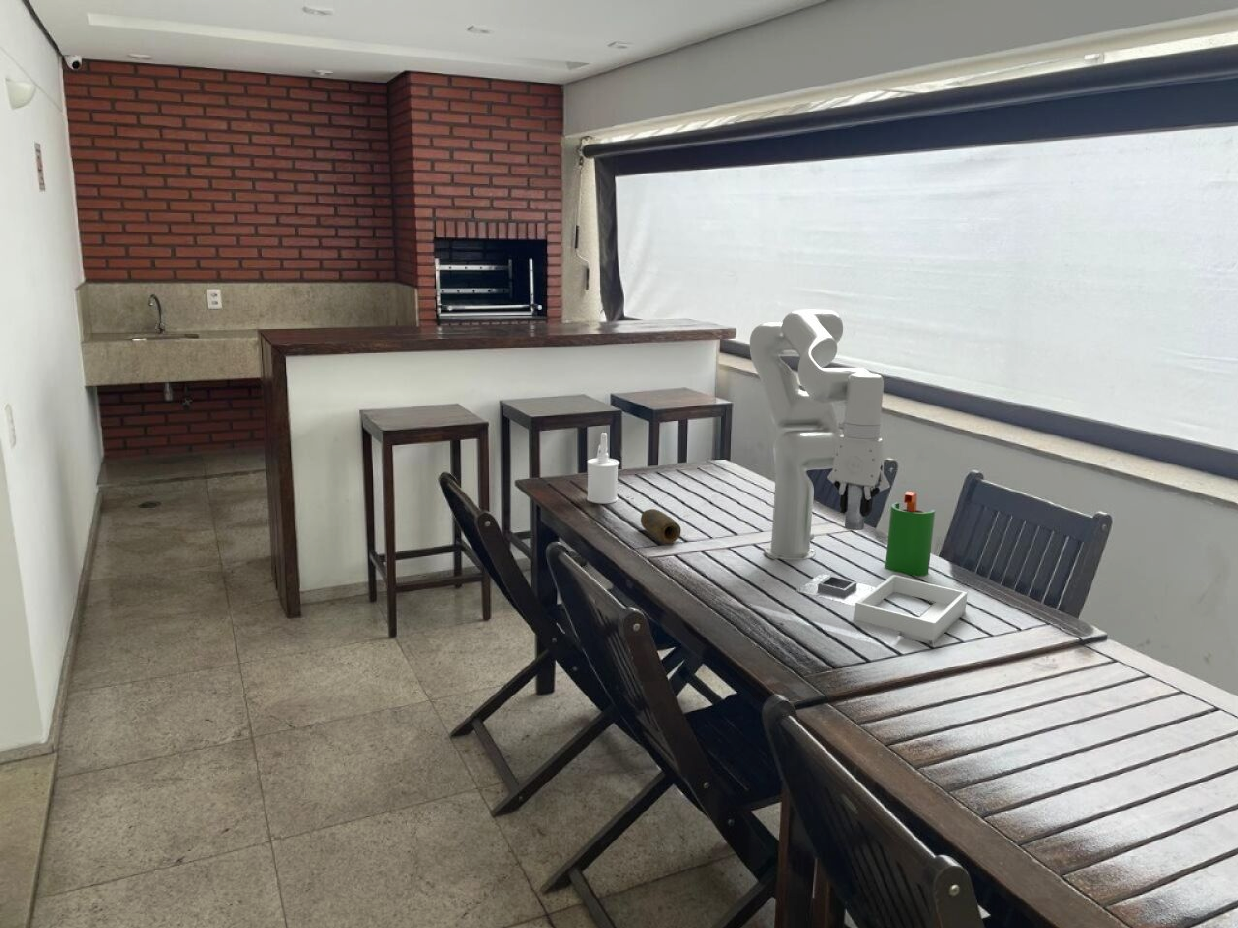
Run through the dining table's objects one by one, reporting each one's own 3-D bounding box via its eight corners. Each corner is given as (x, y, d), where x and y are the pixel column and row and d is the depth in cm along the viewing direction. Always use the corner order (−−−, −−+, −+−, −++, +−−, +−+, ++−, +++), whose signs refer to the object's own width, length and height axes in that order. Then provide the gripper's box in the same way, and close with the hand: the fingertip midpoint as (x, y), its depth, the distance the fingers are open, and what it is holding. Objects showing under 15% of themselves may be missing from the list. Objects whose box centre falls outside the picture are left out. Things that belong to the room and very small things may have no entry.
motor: (930, 568, 236) (939, 489, 231) (925, 580, 228) (934, 498, 223) (887, 561, 240) (895, 483, 235) (881, 572, 232) (889, 492, 227)
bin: (891, 593, 218) (892, 574, 217) (965, 611, 209) (967, 592, 208) (853, 623, 201) (855, 602, 200) (932, 644, 192) (934, 623, 191)
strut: (840, 527, 211) (845, 467, 208) (848, 523, 215) (853, 463, 212) (859, 531, 209) (864, 470, 206) (867, 527, 212) (872, 466, 209)
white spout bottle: (617, 504, 282) (619, 437, 278) (586, 503, 282) (587, 436, 278) (618, 494, 293) (620, 429, 288) (587, 493, 293) (589, 429, 288)
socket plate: (820, 577, 227) (821, 567, 227) (878, 591, 219) (879, 581, 219) (794, 594, 216) (795, 584, 216) (853, 610, 208) (854, 599, 208)
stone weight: (685, 544, 249) (686, 519, 247) (660, 547, 246) (661, 522, 245) (659, 527, 262) (660, 503, 261) (635, 530, 259) (636, 506, 258)
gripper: (818, 428, 209) (812, 510, 213) (893, 439, 199) (885, 524, 203) (832, 423, 215) (827, 503, 219) (906, 433, 205) (898, 517, 209)
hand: (855, 512), depth 211 cm, fingers closed on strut, 4 cm apart
